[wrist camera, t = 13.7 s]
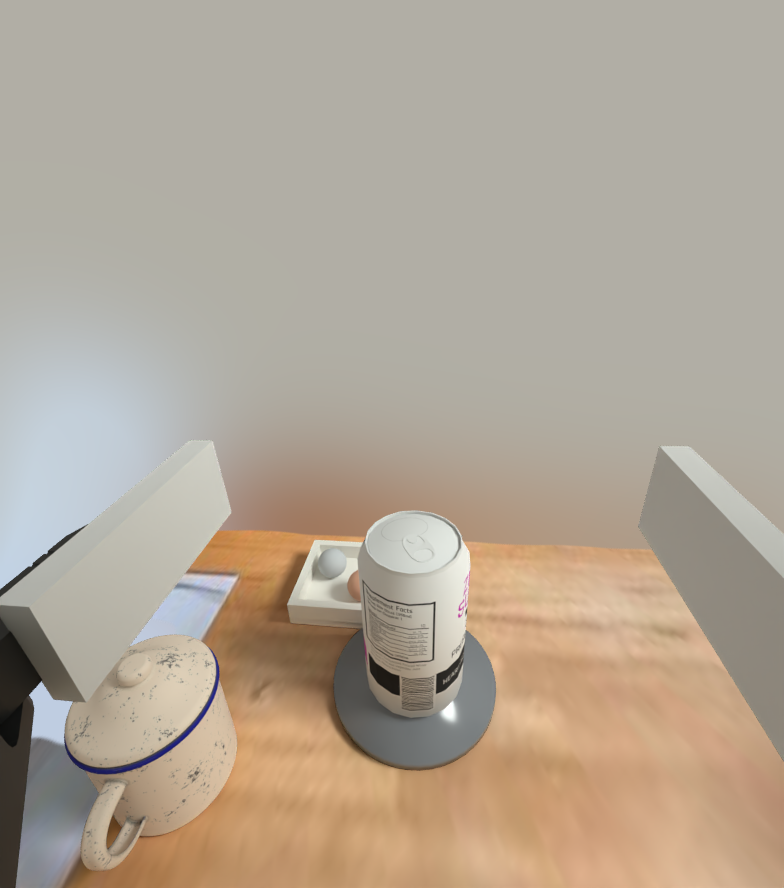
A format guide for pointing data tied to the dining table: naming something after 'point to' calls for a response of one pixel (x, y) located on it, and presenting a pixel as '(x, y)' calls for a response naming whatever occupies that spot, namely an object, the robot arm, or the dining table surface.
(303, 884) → the dining table surface
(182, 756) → the teacup with lid
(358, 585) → the ball terracotta
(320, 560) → the ball grey
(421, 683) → the supplement can
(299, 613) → the ball dish
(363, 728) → the slate coaster
